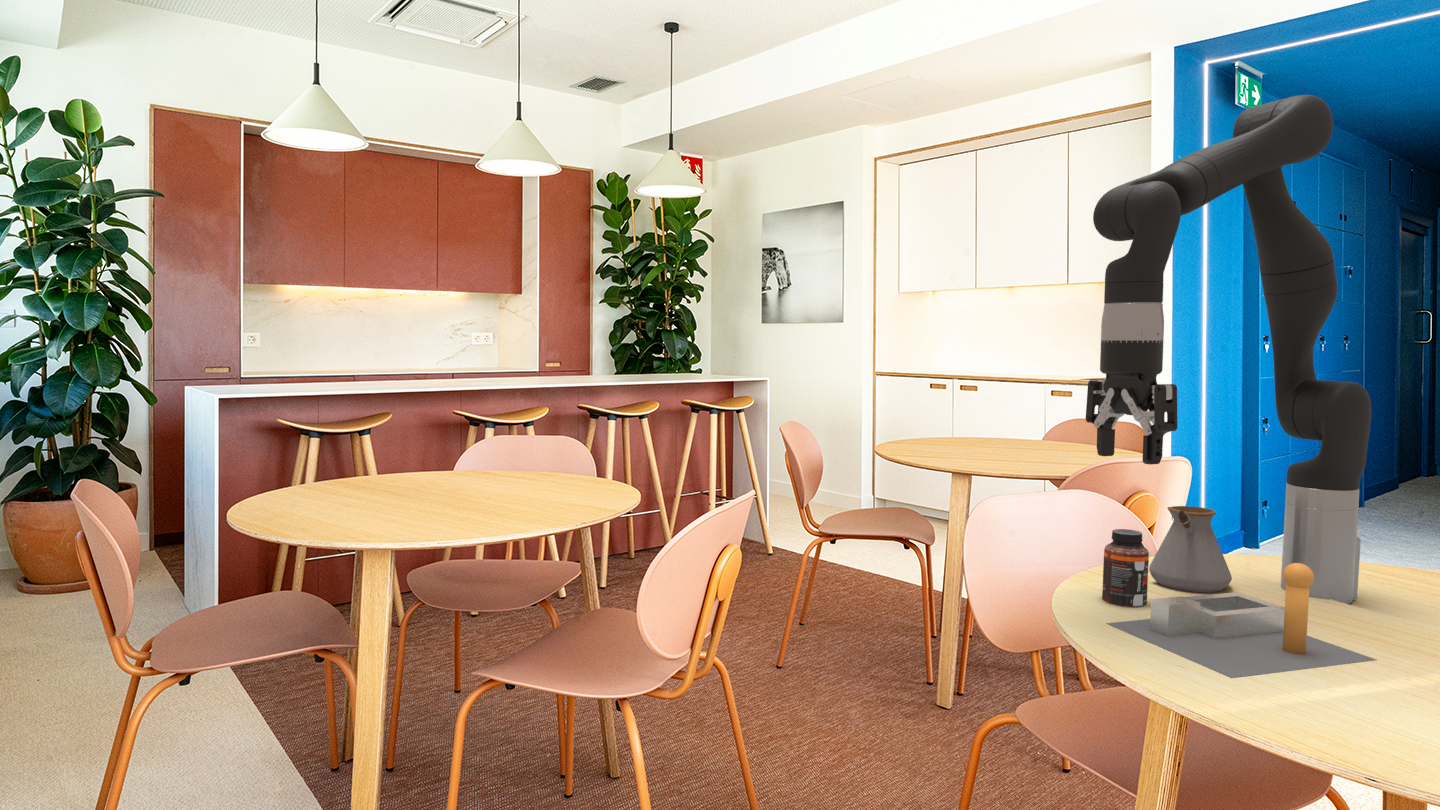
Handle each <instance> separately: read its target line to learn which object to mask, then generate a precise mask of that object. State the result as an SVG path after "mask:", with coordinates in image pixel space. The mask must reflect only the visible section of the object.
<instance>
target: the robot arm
mask: <svg viewBox="0 0 1440 810" xmlns="http://www.w3.org/2000/svg"><path fill="white" fill-rule="evenodd" d="M1333 119H1334V118H1333V115H1332V111H1331V109H1330V107H1329V105H1328V104H1327V103H1326V102H1325V100H1324V99H1322V98H1321V97H1318V96H1316V95H1313V94H1312V95H1311V94H1300V95H1292V96H1289V97H1286V98H1282V99H1277V100H1273V101H1270V102H1266V103H1263V104H1259V105H1255V106H1252V107H1249V108H1247V109H1244V110H1243V111H1242V112H1240V114H1239V115H1238V116H1237V118H1236V119H1235V121H1234V124H1233V130H1232V138H1229V139H1226V140H1223V141H1220V142H1217V143H1214V144H1212V145H1209V146H1206V147H1204V148H1202V149H1201V148H1200V149H1198V150H1196V151H1194V152H1191V153H1189V154H1187V155H1185V156H1183V157H1182V158H1179V159H1177V160H1176V161H1174V162H1172V163H1170V164H1168V165H1166V166H1165V167H1164V168H1162V169H1160V170H1157V171H1155V172H1153V173H1151V174H1147V175H1144V176H1142V177H1139V178H1135V179H1133V180H1130V181H1126V182H1125V183H1123V184H1120V185H1118V186H1115V187H1113V188H1112V189H1110V190H1108V191H1107V192H1106V193H1105V192H1104V194H1103V195H1102V196H1101V197H1100V198H1099V200H1098V201H1097V202H1096V205H1095V207H1094V210H1093V216H1092V220H1093V226H1094V228H1095V230H1096V231H1097V233H1099V234H1100V236H1102V237H1103V238H1104V239H1106V240H1109V241H1113V242H1125V241H1132V242H1131V244H1130V247H1129V250H1128V252H1127V253H1126V254H1125V255H1124V256H1122V257H1119V258H1117V259H1114V260H1112V261H1110V262H1109V263H1108V265H1107V266H1106V268H1105V272H1104V273H1105V274H1104V293H1103V294H1104V296H1103V297H1104V298H1103V301H1104V302H1103V303H1104V305H1103V310H1102V316H1101V323H1100V324H1101V325H1100V330H1101V331H1100V352H1099V353H1100V355H1099V356H1100V358H1099V359H1100V360H1099V371H1100V372H1101V373H1102V374H1105V379H1090V380H1088V383H1087V393H1086V409H1085V421H1086V422H1087V423H1091V424H1092V425H1094V426H1093V427H1095V428H1096V451H1097V452H1096V453H1097V455H1098V456H1100V457H1113V456H1114V455H1115V444H1116V443H1115V442H1116V441H1115V440H1116V429H1115V428H1114V427H1115V425H1116V424H1117V422H1118V421H1119V419H1120V418H1122V417H1123V416H1124V415H1126V416H1133V418H1134V420H1135V421H1136V422H1138V423H1139V424H1140V427H1141V428H1142V431H1143V433H1144V435H1143V436H1142V438H1143V440H1142V463H1143V464H1144V465H1159V464H1161V461H1162V458H1163V448H1164V447H1163V445H1164V436H1165V434H1167V433H1169V432H1175V431H1177V429H1178V386H1177V384H1174V383H1164V384H1163V383H1158V381H1157V376H1158V375H1159V374H1162V372H1163V361H1164V335H1165V334H1164V333H1165V315H1164V306H1163V305H1164V304H1163V302H1164V275H1165V269H1166V266H1167V264H1168V261H1169V258H1170V255H1171V251H1172V248H1173V245H1174V242H1175V239H1176V236H1177V232H1178V228H1179V225H1180V222H1181V216H1185V215H1187V214H1191V213H1192V212H1194V211H1196V210H1199V208H1201V207H1203V206H1205V205H1207V204H1209V203H1210V202H1212V201H1214V200H1216V199H1217V198H1218V197H1220V196H1222V195H1224V194H1226V193H1228V192H1230V191H1231V190H1234V189H1236V188H1238V187H1239V186H1242V187H1243V190H1244V191H1243V192H1244V193H1245V197H1246V202H1247V205H1248V209H1249V214H1250V218H1251V223H1252V228H1253V232H1254V238H1255V244H1256V250H1257V251H1256V252H1257V255H1258V256H1257V257H1258V266H1259V273H1260V279H1261V285H1262V291H1263V297H1264V301H1265V306H1266V310H1267V316H1268V317H1267V318H1268V325H1269V330H1270V338H1271V339H1270V340H1271V346H1272V356H1273V373H1274V374H1273V375H1274V393H1275V394H1274V395H1275V397H1274V398H1275V409H1276V414H1277V418H1278V422H1279V425H1280V426H1281V428H1282V430H1283V432H1285V433H1286V434H1287V436H1290V437H1292V438H1294V439H1296V438H1297V439H1301V440H1302V439H1303V440H1308V441H1319V442H1321V444H1320V450H1319V453H1318V454H1317V455H1316V456H1314V457H1312V458H1311V459H1308V460H1304V461H1299V462H1296V463H1295V462H1294V463H1292V464H1290V465H1289V466H1288V468H1287V470H1286V483H1285V485H1286V486H1285V501H1284V504H1285V505H1284V522H1283V537H1282V538H1283V540H1282V555H1281V569H1280V570H1281V575H1280V588H1281V589H1282V590H1284V591H1286V583H1285V581H1284V579H1283V571H1284V569H1285V568H1286V567H1287V566H1288V565H1290V564H1293V563H1301V564H1304V565H1306V566H1308V567H1309V568H1310V569H1311V570H1312V572H1313V574H1314V581H1313V583H1312V585H1311V586H1310V588H1309V598H1313V599H1314V598H1315V599H1321V600H1332V601H1335V602H1339V603H1343V604H1346V605H1350V604H1351V603H1353V601H1354V600H1355V601H1356V600H1358V590H1359V577H1360V576H1359V575H1360V573H1359V572H1360V556H1361V543H1362V542H1361V538H1360V537H1359V536H1357V535H1358V521H1359V503H1360V485H1361V479H1362V476H1363V473H1364V470H1365V468H1366V463H1367V456H1368V455H1367V453H1368V445H1369V437H1370V431H1371V424H1372V423H1371V422H1372V401H1371V397H1370V395H1369V392H1368V391H1367V390H1366V388H1365V387H1364V386H1363V385H1362V384H1360V383H1358V382H1353V381H1345V380H1323V379H1321V380H1318V379H1317V377H1316V371H1315V364H1314V350H1315V349H1314V348H1315V344H1316V341H1317V338H1318V337H1319V335H1320V332H1321V330H1322V329H1323V327H1324V326H1325V324H1326V321H1327V319H1328V318H1329V316H1330V315H1331V312H1332V311H1333V308H1334V305H1335V303H1336V300H1337V296H1338V292H1339V291H1338V290H1339V287H1338V278H1337V272H1336V265H1335V257H1334V252H1333V249H1332V247H1331V245H1330V243H1329V241H1328V240H1327V238H1326V237H1325V235H1324V234H1323V233H1322V232H1321V230H1319V228H1318V227H1317V226H1316V225H1315V224H1314V223H1313V222H1312V221H1311V220H1310V219H1309V218H1308V217H1307V215H1305V213H1304V212H1302V210H1301V209H1300V208H1299V207H1298V206H1297V205H1296V203H1295V202H1294V200H1293V198H1292V197H1291V195H1290V193H1289V190H1288V187H1287V184H1286V180H1285V177H1284V172H1283V168H1282V167H1285V166H1287V165H1288V166H1289V165H1294V164H1298V163H1302V162H1305V161H1308V160H1310V159H1311V160H1312V159H1313V158H1315V157H1316V156H1318V155H1319V154H1321V153H1322V152H1324V150H1325V149H1326V147H1327V146H1328V144H1329V143H1330V141H1331V138H1332V135H1333V133H1334V132H1333V131H1334V120H1333ZM1096 406H1097V413H1095V411H1096ZM1165 413H1166V415H1165ZM1165 417H1166V418H1167V419H1166V421H1165Z"/></svg>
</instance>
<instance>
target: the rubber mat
mask: <svg viewBox="0 0 1440 810" xmlns="http://www.w3.org/2000/svg"><path fill="white" fill-rule="evenodd" d="M1105 624H1106V625H1107V626H1108V625H1109V626H1110V627H1113V628H1115V629H1117V630H1120V631H1122V632H1124V633H1126V634H1129V635H1131V636H1134V637H1135V638H1138V639H1140V640H1143V641H1145V642H1147V643H1149V644H1152V645H1154V646H1157V647H1159V648H1161V649H1163V650H1166V651H1168V652H1171V653H1172V654H1175V655H1177V656H1179V657H1182V658H1184V659H1187V660H1189V661H1191V662H1194V663H1196V664H1198V665H1200V666H1201V667H1205V668H1207V669H1209V670H1212V671H1214V672H1216V673H1218V674H1220V675H1223V676H1226V677H1228V678H1230V679H1237V678H1244V677H1245V678H1246V677H1253V676H1261V675H1269V674H1275V673H1285V672H1292V671H1301V670H1308V669H1316V668H1326V667H1332V666H1340V665H1348V664H1357V663H1364V662H1372V661H1373V662H1374V661H1378V659H1377V658H1374V657H1370V656H1367V655H1365V654H1362V653H1359V652H1356V651H1354V650H1350V649H1348V648H1344V647H1342V646H1339V645H1337V644H1333V643H1329V642H1327V641H1324V640H1322V639H1319V638H1315V637H1313V636H1310V635H1307V640H1306V653H1305V654H1293V653H1289V652H1286V651H1284V650H1283V649H1282V647H1283V632H1277V633H1268V634H1259V635H1249V636H1240V637H1231V638H1222V639H1213V638H1210V637H1208V636H1205V635H1203V634H1200V633H1194V634H1185V635H1175V636H1166V635H1163V634H1161V633H1159V632H1156V631H1154V630H1151V629H1150V618H1146V619H1145V618H1144V619H1135V620H1127V621H1126V620H1125V621H1116V622H1106V623H1105Z"/></svg>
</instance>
